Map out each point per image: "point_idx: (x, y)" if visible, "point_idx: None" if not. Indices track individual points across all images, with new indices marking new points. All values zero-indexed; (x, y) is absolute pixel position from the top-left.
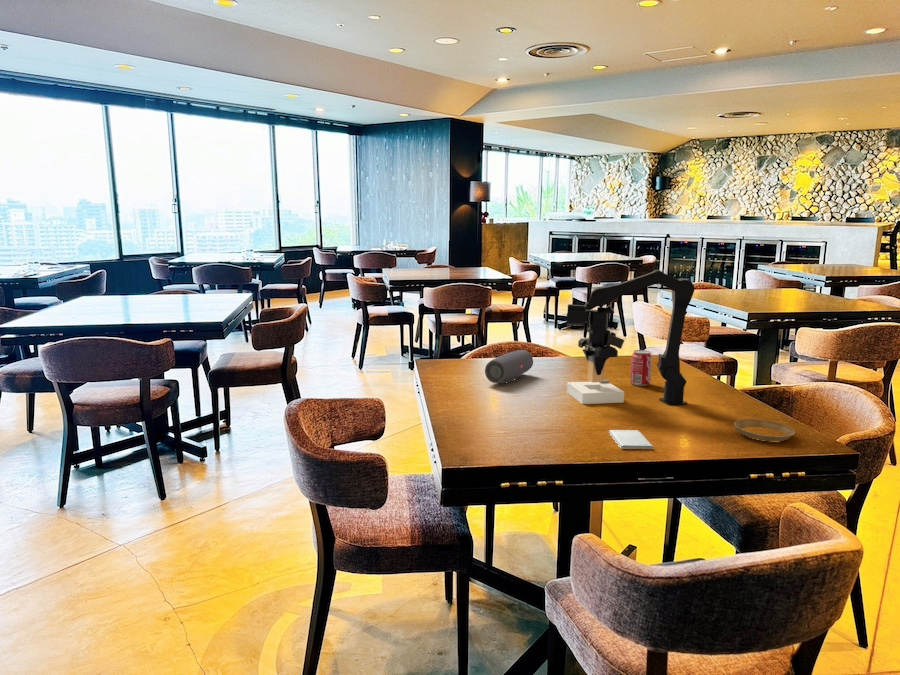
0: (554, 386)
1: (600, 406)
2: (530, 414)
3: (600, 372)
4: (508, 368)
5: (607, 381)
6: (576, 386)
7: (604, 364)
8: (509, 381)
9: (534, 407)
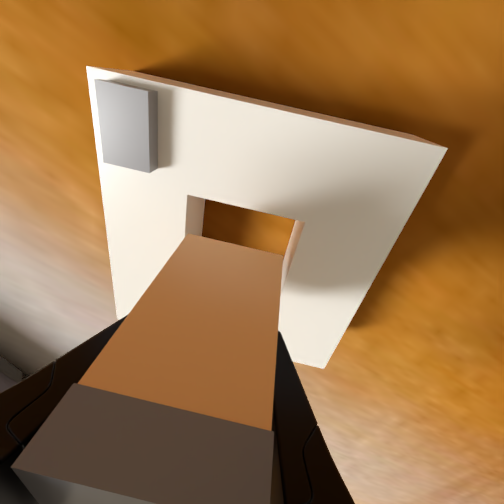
0: (46, 277)
1: (388, 290)
2: (333, 457)
3: (285, 353)
4: None
5: (151, 108)
6: None
7: (272, 398)
8: (7, 365)
9: None
